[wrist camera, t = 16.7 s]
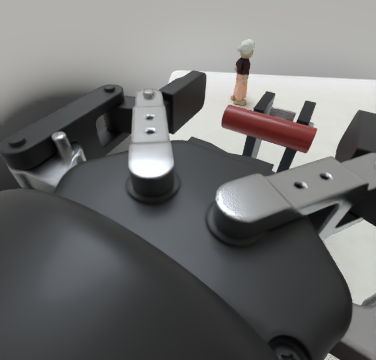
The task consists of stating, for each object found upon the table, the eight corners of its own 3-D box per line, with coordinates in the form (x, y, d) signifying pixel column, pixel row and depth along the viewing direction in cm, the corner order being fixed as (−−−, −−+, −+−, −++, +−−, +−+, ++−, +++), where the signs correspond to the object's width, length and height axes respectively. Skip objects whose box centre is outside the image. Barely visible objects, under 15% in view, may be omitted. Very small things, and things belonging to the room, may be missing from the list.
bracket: (270, 244, 28) (323, 144, 18) (210, 217, 31) (227, 116, 21) (288, 191, 35) (335, 95, 24) (237, 172, 37) (260, 78, 27)
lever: (303, 162, 14) (321, 122, 13) (217, 134, 16) (227, 97, 15) (303, 140, 24) (313, 117, 24) (252, 125, 26) (259, 103, 25)
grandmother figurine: (252, 106, 54) (267, 44, 45) (237, 108, 53) (249, 45, 44) (237, 92, 59) (248, 34, 50) (223, 93, 58) (231, 34, 49)
